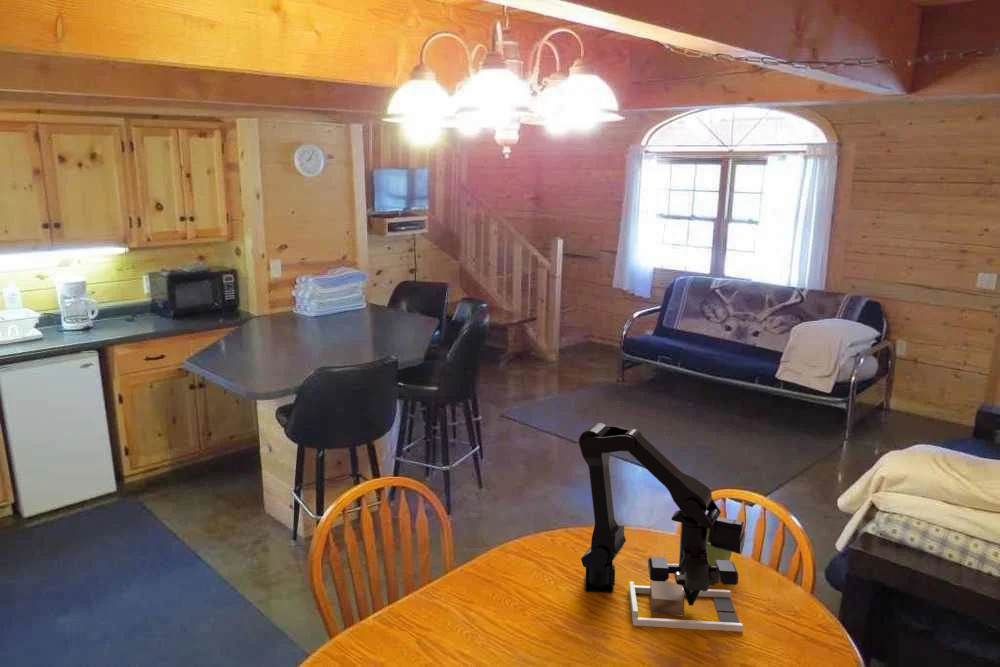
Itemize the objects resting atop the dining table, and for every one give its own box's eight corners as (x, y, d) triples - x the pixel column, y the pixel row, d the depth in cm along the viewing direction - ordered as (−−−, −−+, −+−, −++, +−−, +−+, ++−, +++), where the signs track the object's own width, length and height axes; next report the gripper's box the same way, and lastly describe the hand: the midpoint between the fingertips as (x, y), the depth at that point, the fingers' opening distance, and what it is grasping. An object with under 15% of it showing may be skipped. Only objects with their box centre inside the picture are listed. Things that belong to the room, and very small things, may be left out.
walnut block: (651, 614, 154) (652, 598, 154) (649, 595, 161) (650, 580, 160) (683, 617, 153) (684, 601, 152) (680, 598, 160) (681, 583, 159)
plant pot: (730, 558, 176) (732, 527, 174) (738, 579, 167) (741, 546, 165) (692, 556, 177) (694, 525, 175) (699, 577, 168) (701, 544, 166)
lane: (633, 625, 150) (633, 613, 150) (628, 590, 163) (629, 579, 162) (742, 631, 148) (743, 619, 147) (729, 595, 160) (730, 584, 160)
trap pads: (722, 627, 149) (722, 626, 149) (712, 597, 160) (712, 596, 160) (741, 628, 149) (741, 627, 149) (730, 598, 159) (730, 597, 159)
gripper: (654, 558, 145) (651, 624, 148) (746, 563, 143) (741, 629, 146) (648, 532, 155) (646, 594, 159) (734, 535, 153) (730, 598, 157)
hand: (690, 604), depth 155 cm, fingers closed
